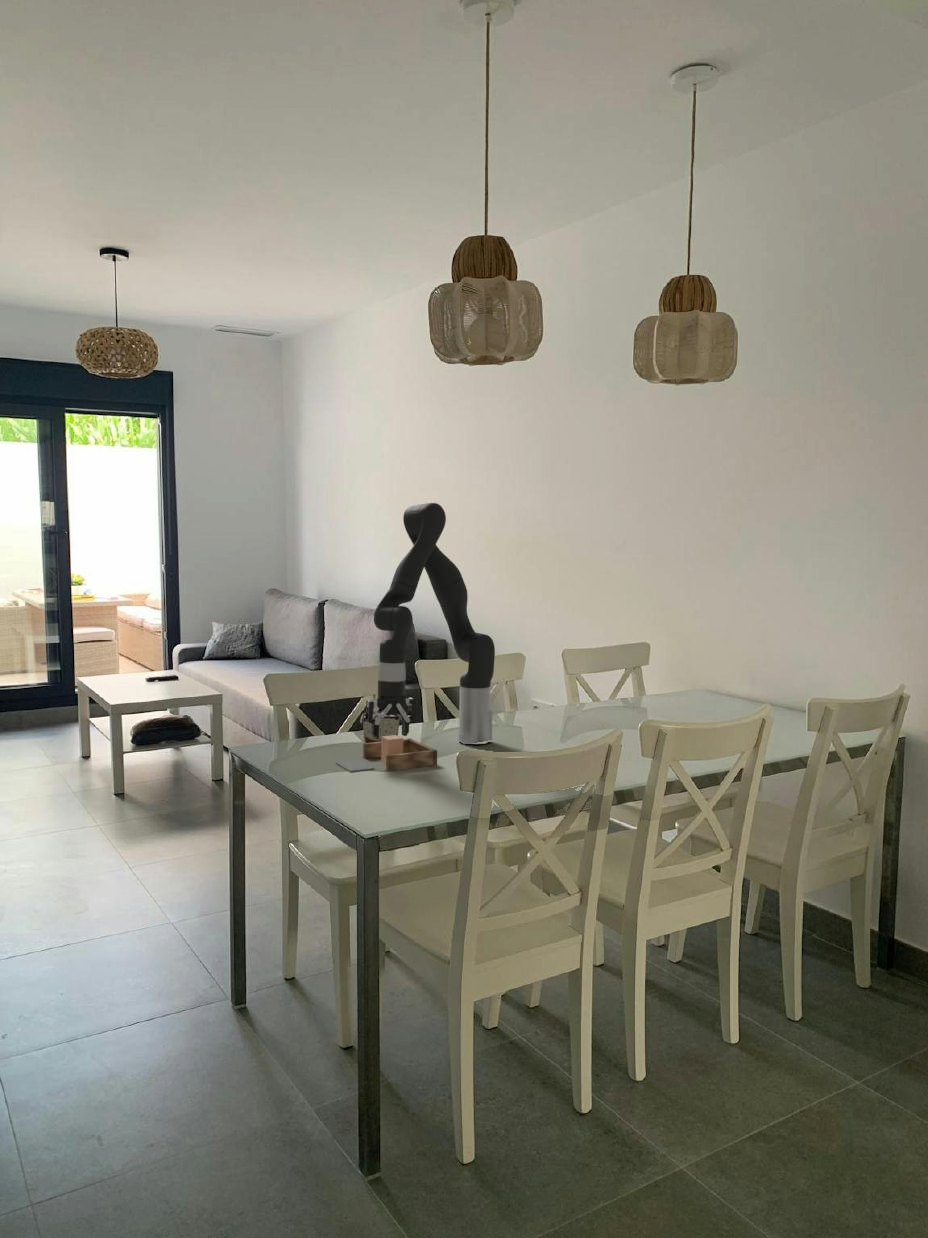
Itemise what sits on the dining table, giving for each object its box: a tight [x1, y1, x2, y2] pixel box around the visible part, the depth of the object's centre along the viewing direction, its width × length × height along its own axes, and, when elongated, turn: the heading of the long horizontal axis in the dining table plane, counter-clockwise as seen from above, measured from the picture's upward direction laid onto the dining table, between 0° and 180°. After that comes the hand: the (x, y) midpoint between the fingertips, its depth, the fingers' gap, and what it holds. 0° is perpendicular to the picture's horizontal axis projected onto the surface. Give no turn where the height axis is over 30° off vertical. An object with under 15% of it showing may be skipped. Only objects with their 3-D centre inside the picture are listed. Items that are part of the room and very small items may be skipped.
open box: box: [362, 738, 438, 772], centre depth 266 cm, size 15×16×4 cm
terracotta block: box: [380, 735, 404, 765], centre depth 265 cm, size 4×4×7 cm
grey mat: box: [335, 759, 375, 773], centre depth 260 cm, size 7×10×1 cm
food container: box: [360, 710, 403, 743], centre depth 284 cm, size 12×6×10 cm, turn 111°
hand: (390, 736), depth 265 cm, fingers open, 8 cm apart
